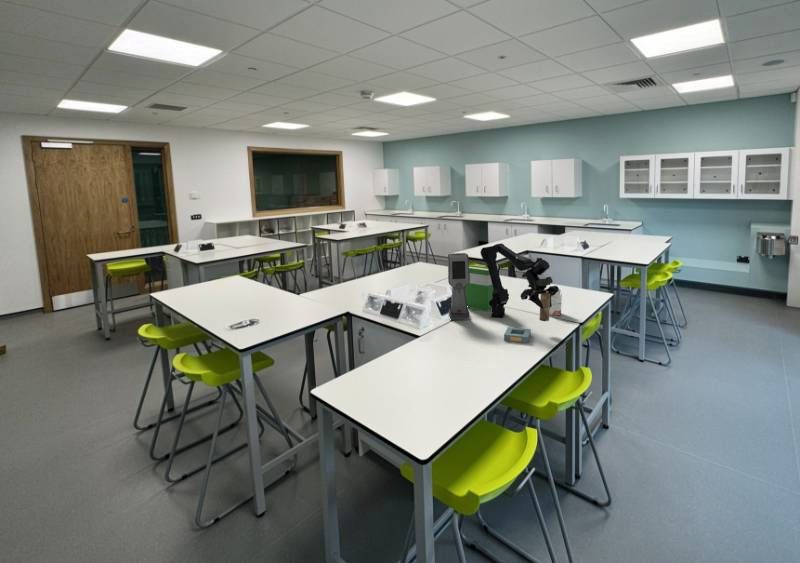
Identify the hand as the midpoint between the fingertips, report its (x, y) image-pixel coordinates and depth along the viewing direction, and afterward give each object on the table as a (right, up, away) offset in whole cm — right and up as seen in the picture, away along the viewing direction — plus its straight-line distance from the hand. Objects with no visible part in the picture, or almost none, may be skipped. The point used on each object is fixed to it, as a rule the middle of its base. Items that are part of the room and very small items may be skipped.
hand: (546, 307), depth 207 cm
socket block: (-14, -14, -1) cm, 20 cm away
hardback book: (-23, -3, +51) cm, 56 cm away
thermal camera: (-37, -8, +34) cm, 51 cm away
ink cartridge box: (+14, -6, +33) cm, 36 cm away
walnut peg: (0, -6, +3) cm, 7 cm away
